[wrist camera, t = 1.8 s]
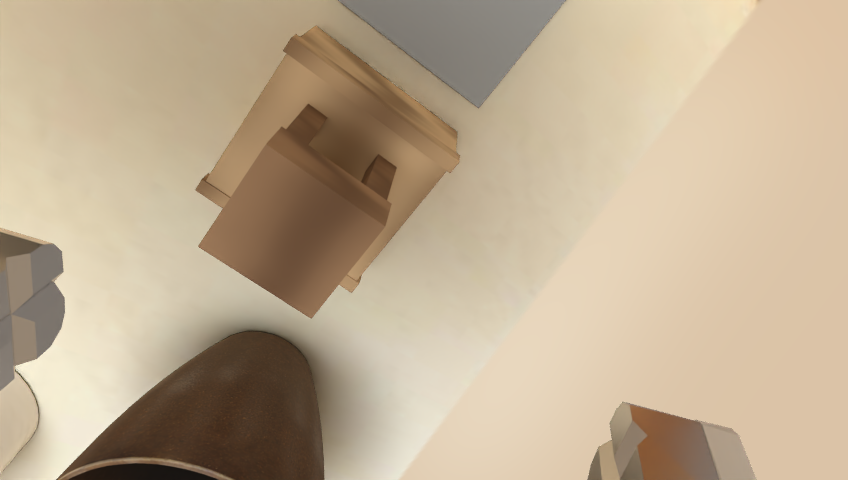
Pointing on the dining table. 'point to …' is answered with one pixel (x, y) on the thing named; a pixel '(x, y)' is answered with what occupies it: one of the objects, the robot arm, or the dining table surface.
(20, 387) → the toilet tissue
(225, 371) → the plant pot
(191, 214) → the dining table surface
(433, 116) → the tan wooden pedestal
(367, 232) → the tan pegged block
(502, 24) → the mat
